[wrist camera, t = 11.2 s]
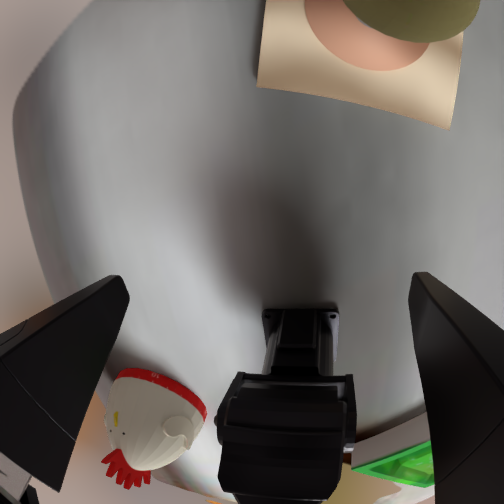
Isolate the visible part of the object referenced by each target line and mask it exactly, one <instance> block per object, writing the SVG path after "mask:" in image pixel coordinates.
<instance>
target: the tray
mask: <svg viewBox="0 0 504 504" xmlns="http://www.w3.org/2000/svg"><path fill="white" fill-rule="evenodd" d="M351 467H352V468H351V469H352V470H353V471H356V472H359V473H363V474H366V475H370V476H374V477H377V478H381V479H386V480H390V481H394V482H398V483H403V484H408V485H412V486H418V487H423V488H426V487H428V486H431V485H434V470H433V459H432V449H431V440H430V432H429V425H428V418H427V412H425V413H423V414H421V415H419V416H417V417H415V418H413V419H411V420H409V421H407V422H405V423H403V424H401V425H398V426H396V427H394V428H392V429H390V430H387V431H385V432H383V433H380V434H378V435H376V436H373V437H371V438H368V439H366V440H363V441H360V442H358V443H355V444H354V448H353V451H352V466H351Z"/></svg>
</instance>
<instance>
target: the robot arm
mask: <svg viewBox="0 0 504 504" xmlns="http://www.w3.org/2000/svg"><path fill="white" fill-rule="evenodd" d="M129 301H130V297H129V293H128V291H127V288H126V286H125V283H124V281H123V279H122V277H121V276H119V275H109V276H107V277H105V278H103V279H101V280H99V281H97V282H95V283H93V284H91V285H90V286H88V287H86V288H84V289H82V290H80V291H78V292H76V293H74V294H73V295H71V296H69V297H67V298H65V299H63V300H61V301H59V302H58V303H56V304H54V305H52V306H50V307H48V308H47V309H45V310H43V311H41V312H39V313H38V314H36V315H34V316H32V317H30V318H29V319H27V320H25V321H23V322H21V323H20V324H18V325H16V326H14V327H12V328H11V329H9V330H7V331H5V332H3V333H1V334H0V504H39V501H38V497H37V493H36V489H35V488H33V487H32V486H31V485H29V482H30V480H31V478H32V476H33V477H35V478H36V479H38V480H39V481H41V482H42V483H44V484H45V485H47V486H48V487H50V488H52V489H53V490H55V491H57V492H58V493H59V492H60V490H61V487H62V483H63V480H64V477H65V473H66V470H67V467H68V464H69V461H70V457H71V454H72V451H73V449H74V446H75V443H76V442H75V441H76V439H77V436H78V433H79V431H80V428H81V425H82V422H83V420H84V417H85V414H86V411H87V409H88V406H89V404H90V401H91V399H92V396H93V394H94V391H95V388H96V386H97V384H98V381H99V379H100V376H101V374H102V371H103V369H104V367H105V364H106V362H107V360H108V357H109V355H110V353H111V350H112V348H113V346H114V343H115V341H116V339H117V336H118V333H119V330H120V327H121V324H122V321H123V319H124V316H125V313H126V310H127V307H128V304H129ZM408 304H409V311H410V318H411V325H412V333H413V341H414V349H415V354H416V359H417V364H418V368H419V373H420V378H421V383H422V388H423V394H424V400H425V405H426V412H427V418H428V425H429V432H430V440H431V449H432V459H433V470H434V484H435V504H504V330H503V329H501V328H500V327H499V326H498V325H497V324H495V323H494V322H493V321H492V320H490V319H489V318H488V317H487V316H485V315H484V314H483V313H482V312H480V311H479V310H478V309H476V308H475V307H474V306H473V305H471V304H470V303H469V302H467V301H466V300H465V299H464V298H462V297H461V296H460V295H458V294H457V293H456V292H454V291H453V290H452V289H450V288H449V287H447V286H446V285H445V284H443V283H442V282H441V281H439V280H438V279H437V278H435V277H434V276H432V275H431V274H430V273H428V272H415V273H414V274H413V276H412V281H411V286H410V291H409V297H408ZM266 314H269V315H270V316H268V315H266ZM332 314H335V315H333V316H332ZM262 320H263V327H264V333H265V340H266V346H267V350H266V355H265V360H264V365H263V370H262V374H250V373H245V372H238V373H237V375H236V377H235V379H233V381H232V383H231V385H230V387H229V389H228V391H227V393H226V395H225V397H224V399H223V401H222V402H221V404H220V406H219V408H218V411H217V415H216V416H215V418H214V424H215V425H216V426H217V438H218V441H219V444H220V445H222V454H221V460H220V466H219V471H218V480H219V482H220V485H221V488H222V490H223V491H224V492H228V493H232V494H233V495H234V497H235V499H236V501H237V502H238V504H321V503H322V501H326V500H328V498H329V497H330V496H331V494H332V493H333V492H334V490H335V489H336V487H337V484H338V483H339V481H340V478H341V470H342V462H343V453H352V451H353V448H354V444H355V436H356V423H357V411H356V400H355V391H354V382H353V374H345V376H333V362H334V361H335V360H336V354H337V341H338V327H339V311H338V310H336V309H265V310H264V311H263V313H262Z"/></svg>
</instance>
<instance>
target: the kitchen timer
mask: <svg viewBox="0 0 504 504" xmlns="http://www.w3.org/2000/svg"><path fill="white" fill-rule="evenodd" d="M206 415H207V411H206V407H205V405H204V404H203V402H202V401H201V400H200V398H198V397H197V396H196V395H195V394H194V393H193V392H192V391H191V390H189V389H187V388H186V387H184V386H183V385H181V384H180V383H178V382H176V381H174V380H172V379H170V378H168V377H166V376H164V375H161V374H158V373H155V372H152V371H149V370H144V369H139V368H127V369H124V370H122V371H120V373H119V374H118V376H117V378H116V379H115V381H114V383H113V385H112V387H111V390H110V393H109V397H108V403H107V410H106V414H105V416H104V422H105V425H106V428H107V434H108V438H109V441H110V444H111V446H112V449H113V452H111V453H110V454H108V455H107V456H106V457H105V458H104V459H103V460H102V461H101V462H102V463H105V464H107V463H110V462H111V463H110V466H109V468H108V470H107V473H106V476H108V477H112V476H113V475H114V474H115V473H116V472H117V471H118V473H117V478H116V483H117V484H119V485H121V484H122V483H123V481H124V480H125V481H124V488H125V489H128V490H129V489H130V488H131V486H132V484H133V482H134V486H137V487H141V481H142V477H143V479H144V483H145V484H150V477H151V471H150V470H153V469H157V468H160V467H163V466H165V465H167V464H169V463H171V462H172V461H174V460H175V459H177V458H178V457H179V456H181V455H182V454H183V453H184V452H185V451H186V449H187V450H189V449H190V447H191V445H192V442H193V441H194V440H195V438H196V437H197V435H198V434H199V432H200V430H201V428H202V426H203V424H204V421H205V418H206Z"/></svg>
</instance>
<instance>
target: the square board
mask: <svg viewBox="0 0 504 504" xmlns="http://www.w3.org/2000/svg"><path fill="white" fill-rule="evenodd" d="M462 42H463V31H462V32H461V33H459V34H458V35H456V36H454V37H452V38H449V39H447V40H443V41H437V42H432V43H414V42H409V41H404V40H399V39H396V38H393V37H390V36H387V35H385V34H383V33H381V32H379V31H377V30H375V29H373V28H369V27H367V26H365V25H364V24H362V23H361V22H360V21H359V20H358V19H357V18H356V16H355V15H354V14H353V13H352V11H351V10H350V9H349V8H348V7H347V6H346V5H345V3H344V2H343V0H266V7H265V15H264V24H263V33H262V41H261V50H260V59H259V68H258V77H257V87H261V88H270V89H278V90H286V91H293V92H300V93H306V94H312V95H318V96H323V97H329V98H334V99H339V100H344V101H348V102H353V103H357V104H362V105H366V106H370V107H374V108H378V109H382V110H386V111H389V112H393V113H396V114H400V115H403V116H407V117H410V118H413V119H417V120H420V121H423V122H426V123H429V124H432V125H435V126H438V127H441V128H443V129H446V130H449V129H450V125H451V120H452V115H453V109H454V104H455V98H456V92H457V86H458V79H459V71H460V63H461V54H462Z"/></svg>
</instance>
